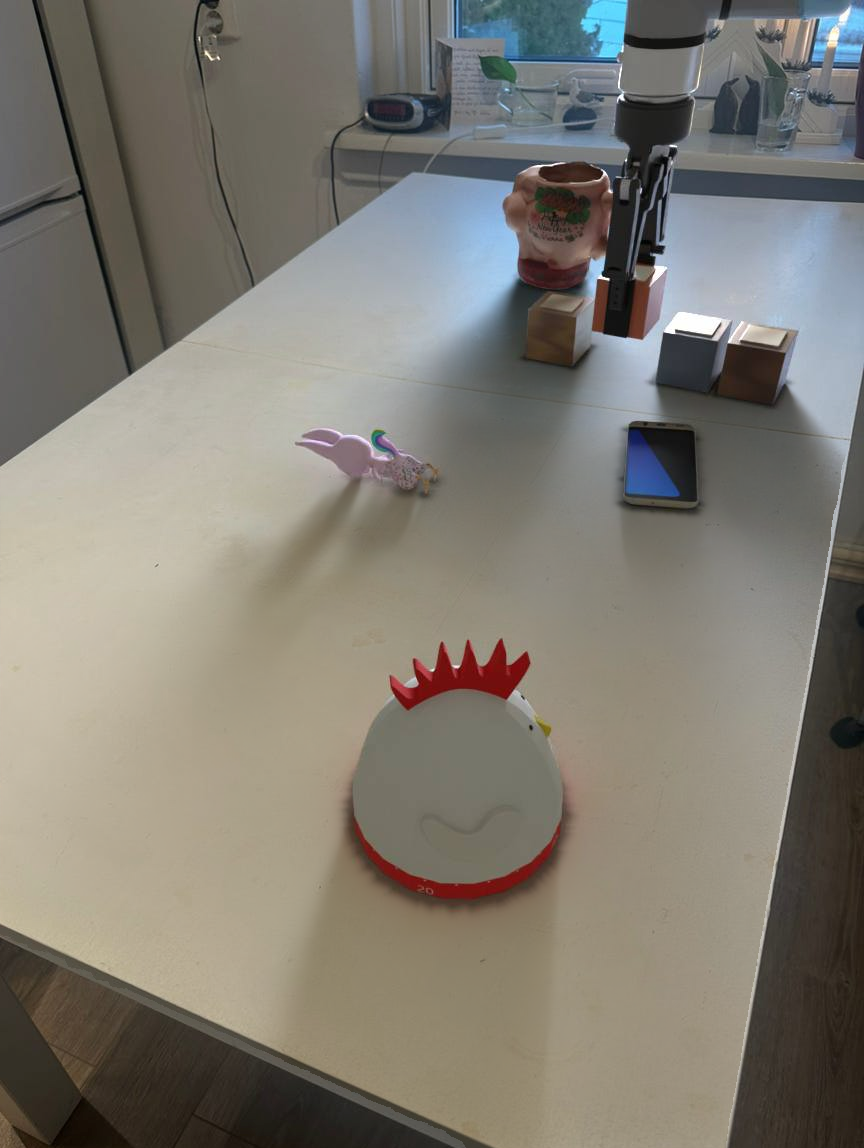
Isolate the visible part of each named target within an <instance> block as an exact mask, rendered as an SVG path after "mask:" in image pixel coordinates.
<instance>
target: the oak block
mask: <svg viewBox="0 0 864 1148" xmlns="http://www.w3.org/2000/svg"><path fill="white" fill-rule="evenodd" d="M594 304H595V297H589V296H583V295H576V294H570V293H563V292H557V291H552V290H547V291H546V292H545V293H544V294H543V295H542V296H541V297H540V298H539V299H538V300H537V301H535V303H534V304H532V305H531V307H529V308H528V311H527V329H526V330H527V331H526V347H525V348H526V349H525V358H526V359H530V360H536V361H541V362H547V363H551V364H557V365H562V366H567V367H573V366H574V365H575V364H576V363H577V362H578V361H579V360H580V359H581V357H582V356H583V355H584V354H585V353H586V352H587V351H588V350H589V348H590V347H591V343H592V335H593V331H592V322H593V313H594Z"/></svg>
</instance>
